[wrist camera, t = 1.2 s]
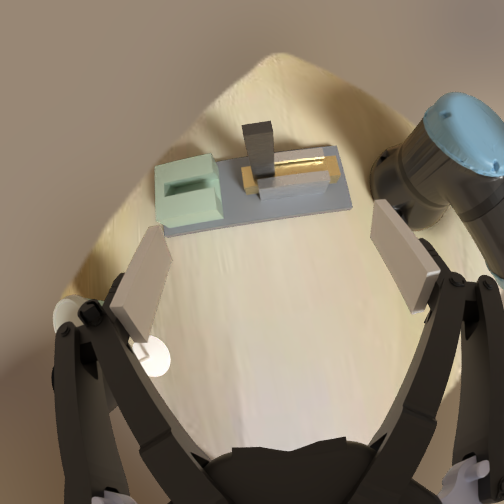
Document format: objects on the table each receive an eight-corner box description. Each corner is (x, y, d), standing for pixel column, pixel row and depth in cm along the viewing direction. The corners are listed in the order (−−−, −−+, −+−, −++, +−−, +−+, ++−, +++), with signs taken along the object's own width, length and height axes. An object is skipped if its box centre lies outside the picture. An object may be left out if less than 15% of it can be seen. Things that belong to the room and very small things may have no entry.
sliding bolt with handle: (331, 164, 40) (354, 107, 25) (336, 182, 39) (363, 131, 24) (243, 176, 41) (226, 121, 26) (246, 195, 40) (229, 146, 25)
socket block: (218, 167, 43) (211, 153, 37) (223, 218, 41) (216, 209, 36) (167, 178, 43) (154, 166, 38) (169, 228, 42) (155, 220, 37)
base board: (334, 149, 43) (336, 145, 41) (350, 209, 41) (352, 207, 40) (164, 177, 45) (161, 174, 43) (167, 237, 43) (164, 235, 42)
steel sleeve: (317, 162, 41) (322, 147, 36) (324, 192, 40) (330, 179, 35) (256, 170, 42) (253, 156, 37) (261, 201, 41) (258, 189, 36)
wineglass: (182, 367, 40) (118, 415, 21) (144, 384, 41) (74, 429, 21) (158, 325, 42) (80, 346, 22) (122, 345, 42) (42, 369, 22)
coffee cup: (96, 339, 42) (53, 349, 31) (93, 294, 44) (49, 293, 32) (132, 343, 42) (92, 357, 30) (129, 294, 43) (87, 295, 31)
